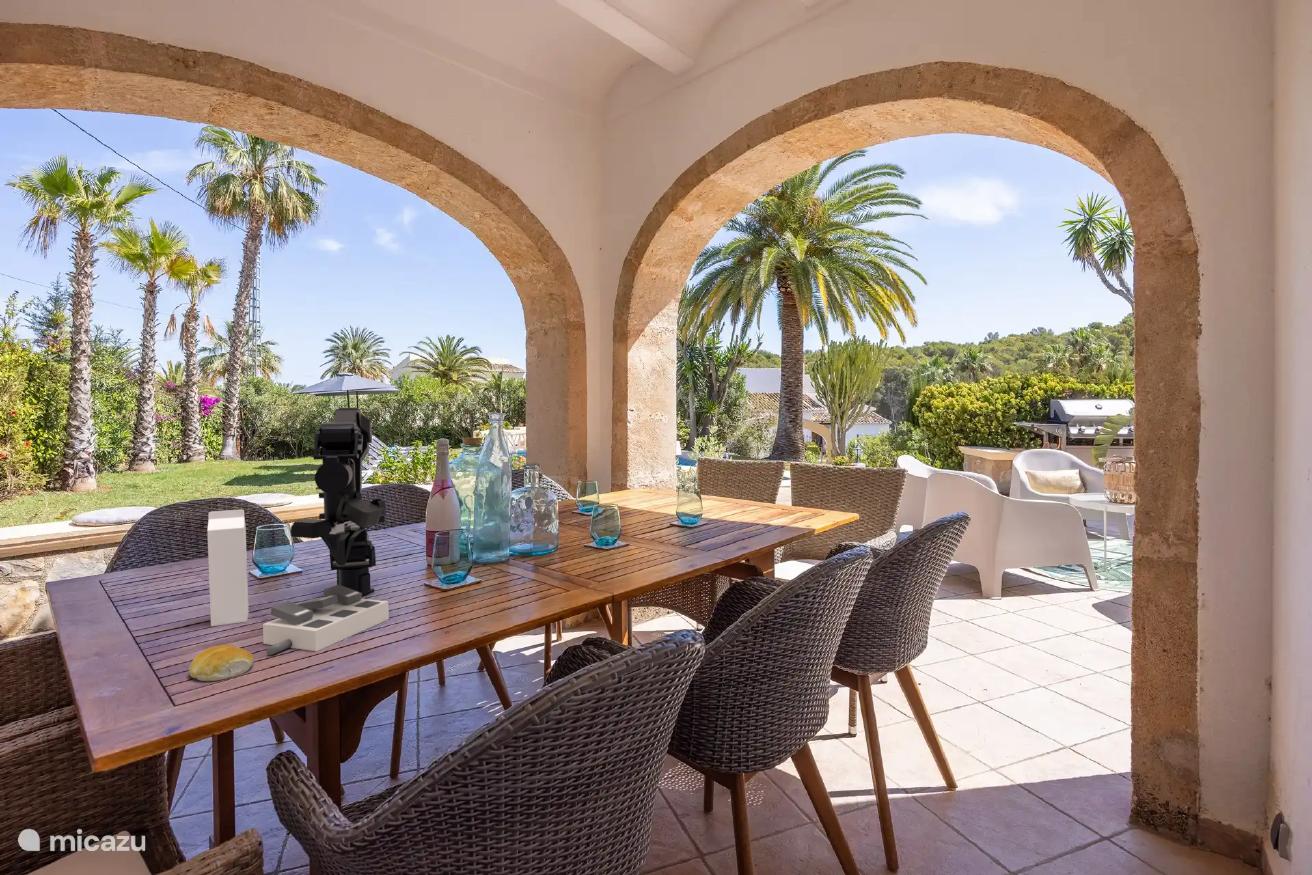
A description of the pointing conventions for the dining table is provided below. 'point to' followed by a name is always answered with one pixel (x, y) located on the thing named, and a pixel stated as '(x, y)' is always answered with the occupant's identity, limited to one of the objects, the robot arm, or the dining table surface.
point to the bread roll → (220, 663)
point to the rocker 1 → (291, 612)
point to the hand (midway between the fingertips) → (341, 565)
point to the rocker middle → (319, 602)
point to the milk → (227, 567)
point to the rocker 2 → (343, 594)
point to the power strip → (325, 626)
